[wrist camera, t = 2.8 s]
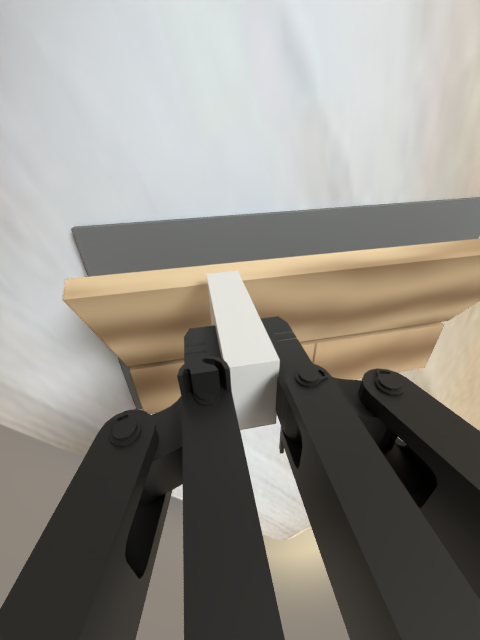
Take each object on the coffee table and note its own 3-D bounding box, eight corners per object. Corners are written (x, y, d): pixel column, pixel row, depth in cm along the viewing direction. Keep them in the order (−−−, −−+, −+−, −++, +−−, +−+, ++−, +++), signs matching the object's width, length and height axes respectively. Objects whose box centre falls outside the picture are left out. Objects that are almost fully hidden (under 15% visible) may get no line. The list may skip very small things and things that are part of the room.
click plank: (65, 278, 13) (62, 299, 13) (555, 231, 17) (569, 245, 17) (127, 352, 22) (127, 366, 21) (441, 309, 26) (448, 320, 25)
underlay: (74, 226, 17) (71, 228, 17) (490, 196, 21) (496, 197, 21) (137, 405, 26) (136, 409, 26) (420, 359, 31) (423, 362, 30)
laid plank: (131, 360, 23) (129, 370, 22) (434, 318, 27) (444, 324, 26) (146, 404, 26) (144, 414, 25) (416, 360, 30) (425, 367, 29)
